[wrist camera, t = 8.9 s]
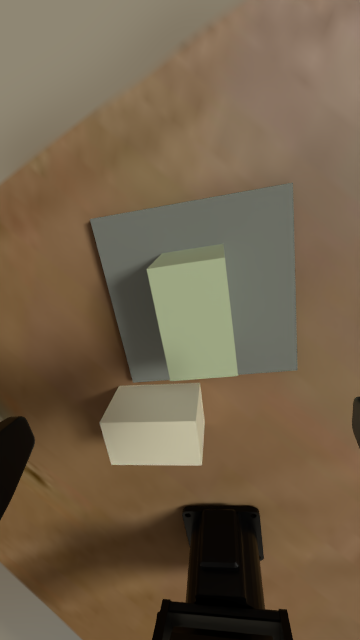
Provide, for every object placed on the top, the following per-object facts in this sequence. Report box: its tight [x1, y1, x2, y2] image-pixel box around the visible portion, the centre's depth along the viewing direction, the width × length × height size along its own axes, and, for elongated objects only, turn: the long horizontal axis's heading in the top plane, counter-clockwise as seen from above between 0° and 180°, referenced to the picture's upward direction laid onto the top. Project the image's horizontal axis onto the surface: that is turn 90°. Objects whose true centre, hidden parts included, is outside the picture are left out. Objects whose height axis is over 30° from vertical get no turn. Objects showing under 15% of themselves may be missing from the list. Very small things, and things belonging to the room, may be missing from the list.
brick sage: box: [147, 244, 238, 381], centre depth 16 cm, size 6×4×4 cm, turn 10°
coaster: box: [90, 183, 297, 382], centre depth 18 cm, size 11×11×1 cm
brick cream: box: [100, 383, 205, 465], centre depth 20 cm, size 6×4×4 cm, turn 97°
